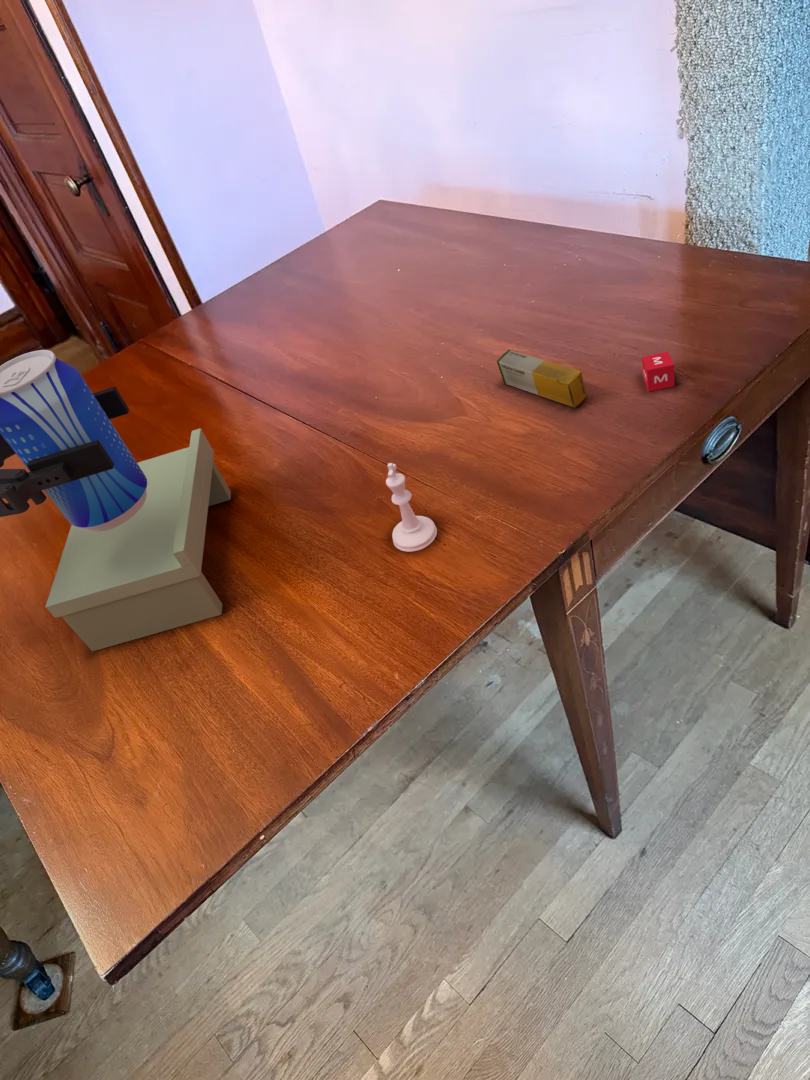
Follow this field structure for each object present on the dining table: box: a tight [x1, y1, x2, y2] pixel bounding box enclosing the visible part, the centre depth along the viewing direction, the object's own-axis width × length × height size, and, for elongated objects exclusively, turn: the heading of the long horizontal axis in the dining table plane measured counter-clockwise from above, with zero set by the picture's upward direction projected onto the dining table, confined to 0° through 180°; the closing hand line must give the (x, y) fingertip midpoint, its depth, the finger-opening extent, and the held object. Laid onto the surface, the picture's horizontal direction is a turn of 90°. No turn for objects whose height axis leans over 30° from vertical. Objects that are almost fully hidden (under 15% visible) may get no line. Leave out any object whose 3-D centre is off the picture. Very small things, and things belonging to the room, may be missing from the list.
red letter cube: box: [641, 351, 675, 392], centre depth 88 cm, size 3×3×3 cm
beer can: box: [0, 349, 147, 532], centre depth 69 cm, size 8×8×16 cm
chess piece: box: [385, 462, 438, 553], centre depth 77 cm, size 5×5×10 cm
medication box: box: [496, 349, 588, 408], centre depth 92 cm, size 12×3×4 cm, turn 40°
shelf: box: [45, 427, 232, 652], centre depth 85 cm, size 16×22×10 cm
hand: (113, 425), depth 68 cm, fingers closed on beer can, 8 cm apart
